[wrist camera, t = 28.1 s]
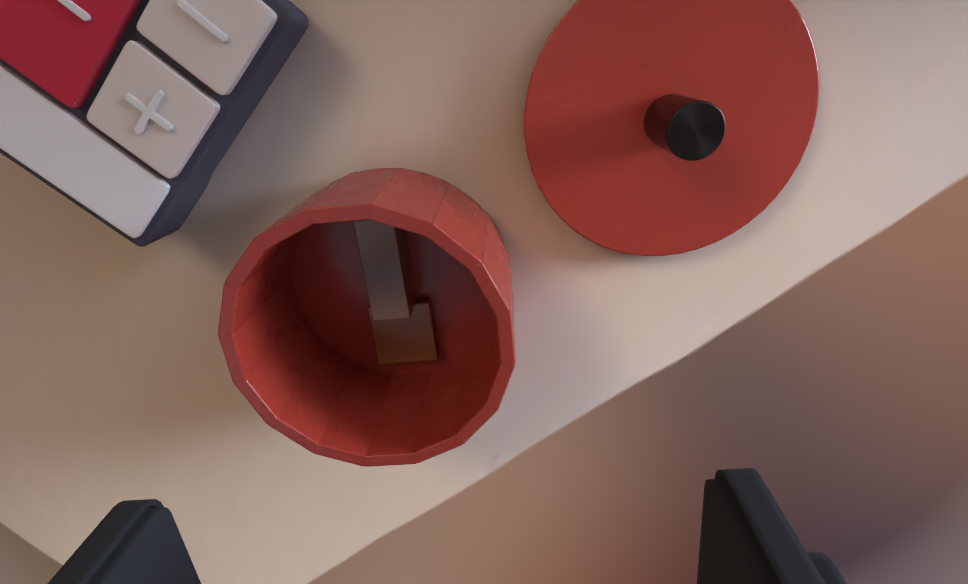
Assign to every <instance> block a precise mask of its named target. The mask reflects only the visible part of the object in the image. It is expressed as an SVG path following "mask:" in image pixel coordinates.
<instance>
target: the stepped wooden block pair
mask: <svg viewBox="0 0 968 584" xmlns="http://www.w3.org/2000/svg"><path fill="white" fill-rule="evenodd" d="M353 224H354V229H355V234H356V239H357V244H358V249H359V254H360V259H361V264H362V269H363V274H364V279H365V284H366V289H367V294H368V299H369V306H368V313H369V318H370V323H371V328H372V333H373V338H374V343H375V348H376V352H377V357H378V362H379V364H389V363H403V362H417V361H431V360H438V356H439V351H438V345H437V338H436V332H435V325H434V319H433V312H432V306H431V299H430V298H424V299H417V293H416V287H415V281H414V275H413V269H412V262H411V256H410V250H409V244H408V238H407V232H406V230H403V229H399V228H396V227H393V226H389V225H386V224H383V223H379V222H376V221H373V220H369V219H367V220H356V221H353Z"/></svg>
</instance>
